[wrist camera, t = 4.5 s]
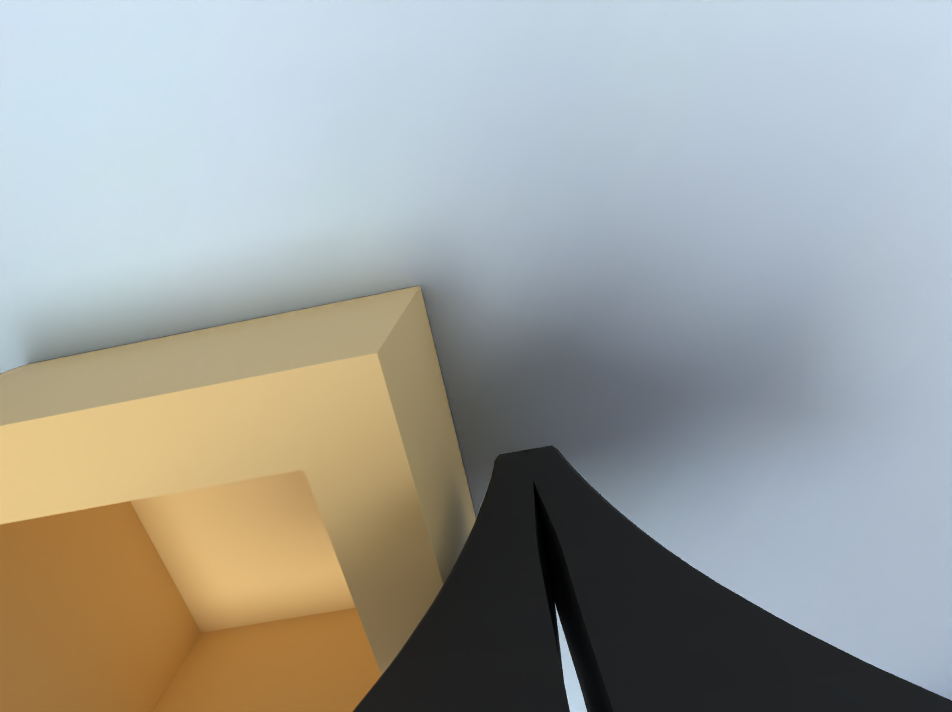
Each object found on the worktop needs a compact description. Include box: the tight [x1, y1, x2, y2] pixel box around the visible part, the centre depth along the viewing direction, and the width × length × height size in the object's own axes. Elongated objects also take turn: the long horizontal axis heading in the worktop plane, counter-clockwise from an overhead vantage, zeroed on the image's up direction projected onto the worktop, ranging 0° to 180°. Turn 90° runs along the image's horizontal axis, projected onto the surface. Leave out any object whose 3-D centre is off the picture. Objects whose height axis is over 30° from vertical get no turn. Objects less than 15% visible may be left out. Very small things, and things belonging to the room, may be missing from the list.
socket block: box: [0, 286, 476, 712], centre depth 9 cm, size 9×9×4 cm
